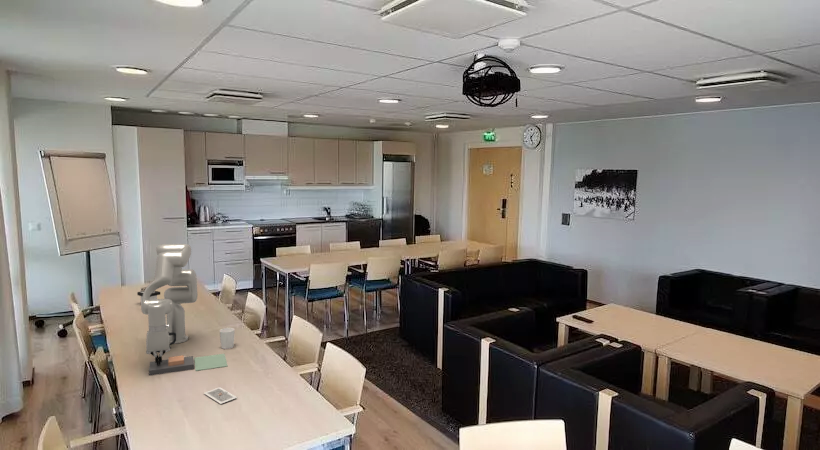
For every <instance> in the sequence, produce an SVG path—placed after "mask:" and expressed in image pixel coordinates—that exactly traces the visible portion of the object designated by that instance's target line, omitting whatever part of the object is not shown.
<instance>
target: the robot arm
mask: <svg viewBox="0 0 820 450" xmlns="http://www.w3.org/2000/svg"><path fill="white" fill-rule="evenodd" d="M155 250H156V254H157V256H156V263H155V270H154V278H153V279H154V280H153V281H151V282H150V283H149V284H148V285H147V286H146V287H145V288H146V289H145V291H144V293H143V296H142V303H141V302H140V310H141V312H142V314H143V315H148V316H147V318H148V330H147V332H146V341H145V342H146V343H145V346H146V349H145V350H146V351H145V354H146V355H151V356H152V357H154V361H155V363H157V365H158V363H159V365H160V363H161V362H162V360H163V356H164V354H165V353H167V352H170V351H171V349H170V347H171V345H170V343H171V342H173V341H174V335H169V333H172V332H176V342H175V343H174V344H173V345H175V344H176V345H177V344H181V343H185V342H187V341H189V336H188V335H186V314H185V312H186V311H185V308H184V307H183V306H182V305H181V304H192V303H193V304H194V303H196V302H197V300H198V281H197V280H198V279H197V273H196V271H195V269H194V270H193V269H190V268H185V269H183V268H184V267H186V266H187V264H188V262H189V260H190V258H191V255H192V247H191V246H190V245H189V244H188V243H162V244H158V245H157V246H156V249H155ZM164 286H170V287H169V288H166V289H165V291H164V293H163V298H157V299H150V300H149V298H150V295H151V294H152V293H153V292H154V291H157V290H158V289H160V288H162V287H164ZM168 332H169V333H168ZM169 345H170V347H169ZM157 351H160V352H159V353H158V352H157Z"/></svg>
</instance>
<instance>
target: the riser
mask: <svg viewBox="0 0 820 450" xmlns="http://www.w3.org/2000/svg"><path fill="white" fill-rule="evenodd" d="M194 358H195V357H194V356H193V355H191V356H184V364H180V365H173V366H168V359H169V358H167V359H162V362H161V363H160V365H159V363H158V365H157V363H155V360H152V361H149V366H148V376H155V375H164V374H170V373H177V372H182V371H191V370H195V360H194Z"/></svg>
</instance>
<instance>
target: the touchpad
mask: <svg viewBox="0 0 820 450" xmlns="http://www.w3.org/2000/svg"><path fill="white" fill-rule="evenodd" d="M203 394H204V395H206V396H207V397H209V398H211V399H212V400H214V401H215V402H217V403H219V404H220V405H222V404H223V403H224V404H225V403H226V402H229V401H232V400H236V399H237V398H238V397H237V396H236V395H235V394H233V393H231V392H229V391H228V390H226V389H224V388H222V387H220V386H219V387H216V388H213V389H211V390H208V391H205V392H203Z"/></svg>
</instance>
